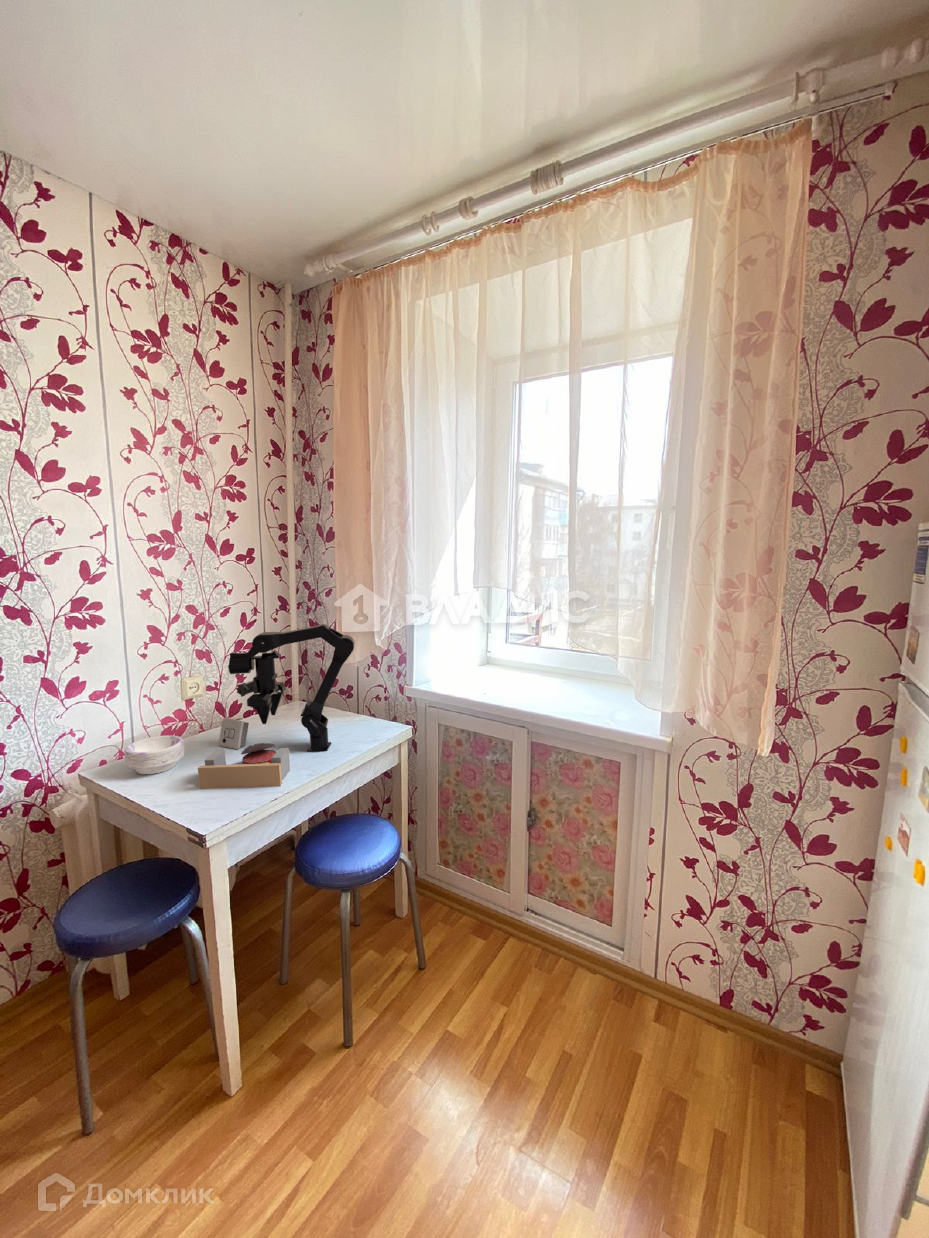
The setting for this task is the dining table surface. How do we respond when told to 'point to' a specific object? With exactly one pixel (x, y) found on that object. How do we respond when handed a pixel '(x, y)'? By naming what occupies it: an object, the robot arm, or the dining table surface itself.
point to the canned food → (258, 754)
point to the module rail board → (243, 772)
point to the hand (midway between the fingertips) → (268, 719)
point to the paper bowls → (154, 754)
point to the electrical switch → (233, 733)
